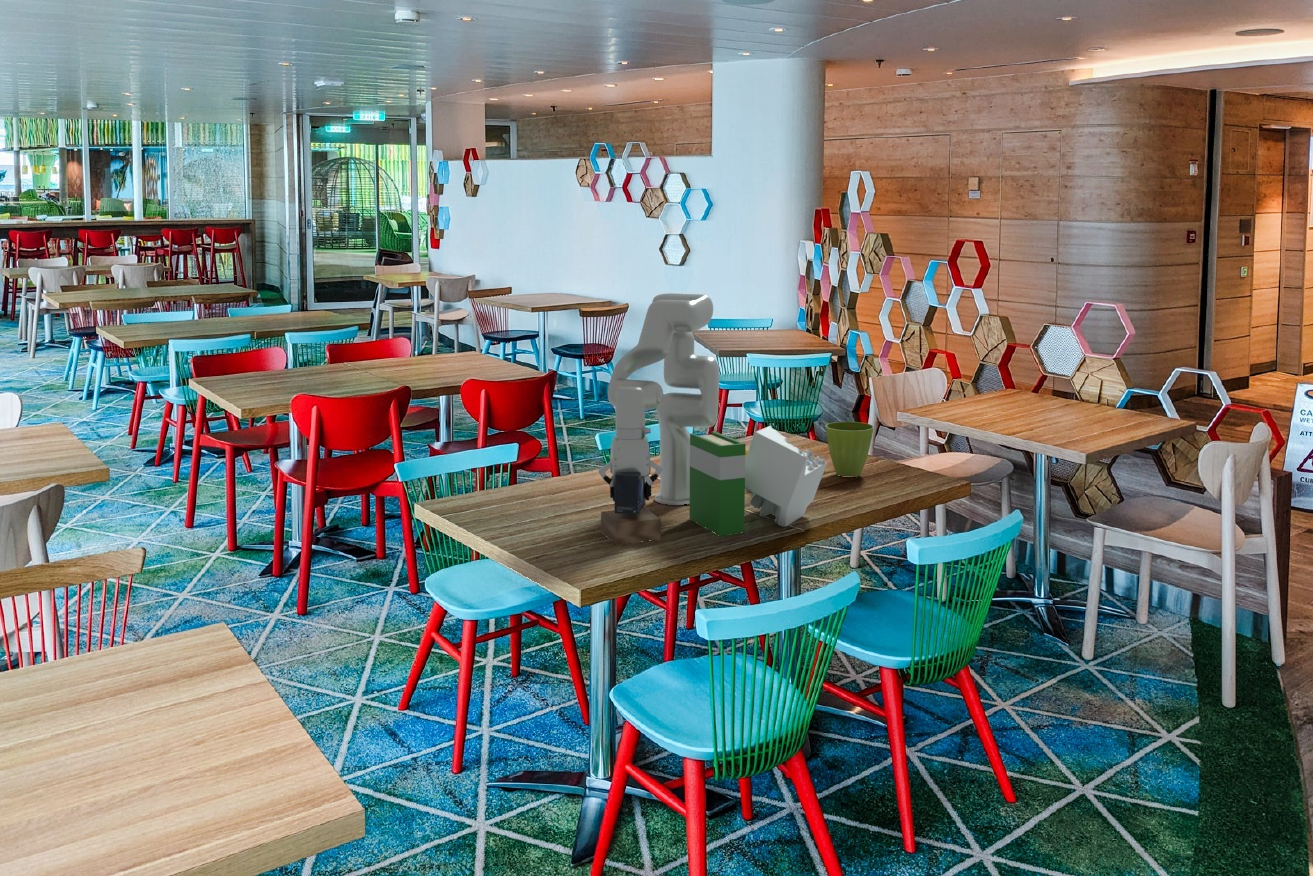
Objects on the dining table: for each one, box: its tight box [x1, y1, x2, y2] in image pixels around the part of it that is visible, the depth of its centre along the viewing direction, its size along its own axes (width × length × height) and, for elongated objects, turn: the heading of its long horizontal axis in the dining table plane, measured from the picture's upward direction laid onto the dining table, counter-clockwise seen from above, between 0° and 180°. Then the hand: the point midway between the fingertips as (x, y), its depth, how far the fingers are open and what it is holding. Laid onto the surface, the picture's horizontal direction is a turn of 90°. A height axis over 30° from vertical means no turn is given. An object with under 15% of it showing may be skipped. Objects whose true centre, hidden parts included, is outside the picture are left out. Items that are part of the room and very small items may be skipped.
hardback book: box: [689, 430, 747, 537], centre depth 308 cm, size 18×7×24 cm, turn 24°
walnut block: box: [600, 506, 662, 546], centre depth 301 cm, size 12×12×6 cm
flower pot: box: [825, 421, 874, 477], centre depth 365 cm, size 15×15×16 cm
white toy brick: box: [745, 425, 828, 528], centre depth 314 cm, size 20×16×25 cm
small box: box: [613, 472, 647, 514], centre depth 299 cm, size 11×6×10 cm, turn 169°
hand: (630, 499), depth 299 cm, fingers closed on small box, 7 cm apart
